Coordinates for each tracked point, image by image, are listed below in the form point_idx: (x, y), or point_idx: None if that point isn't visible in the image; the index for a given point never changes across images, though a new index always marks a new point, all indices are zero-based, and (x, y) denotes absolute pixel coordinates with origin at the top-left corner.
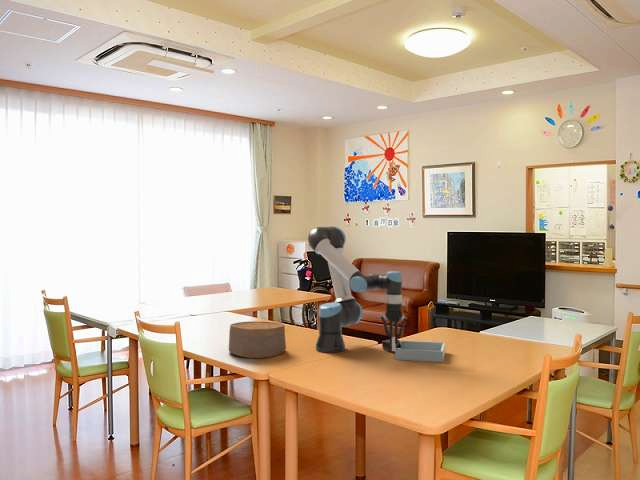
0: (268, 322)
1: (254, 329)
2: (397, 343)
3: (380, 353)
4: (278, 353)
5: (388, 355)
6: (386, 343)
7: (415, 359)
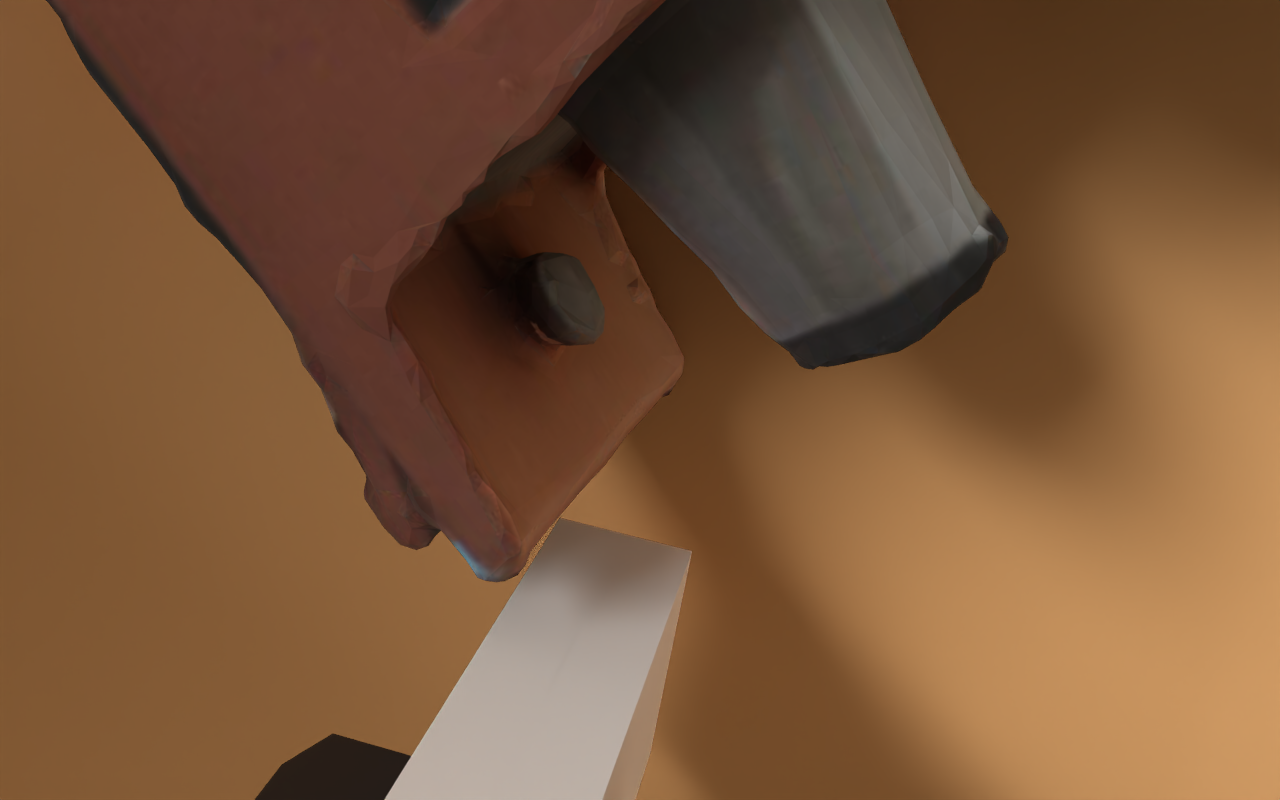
0: None
1: None
2: (791, 178)
3: (169, 414)
4: None
5: None
6: (132, 101)
7: None
